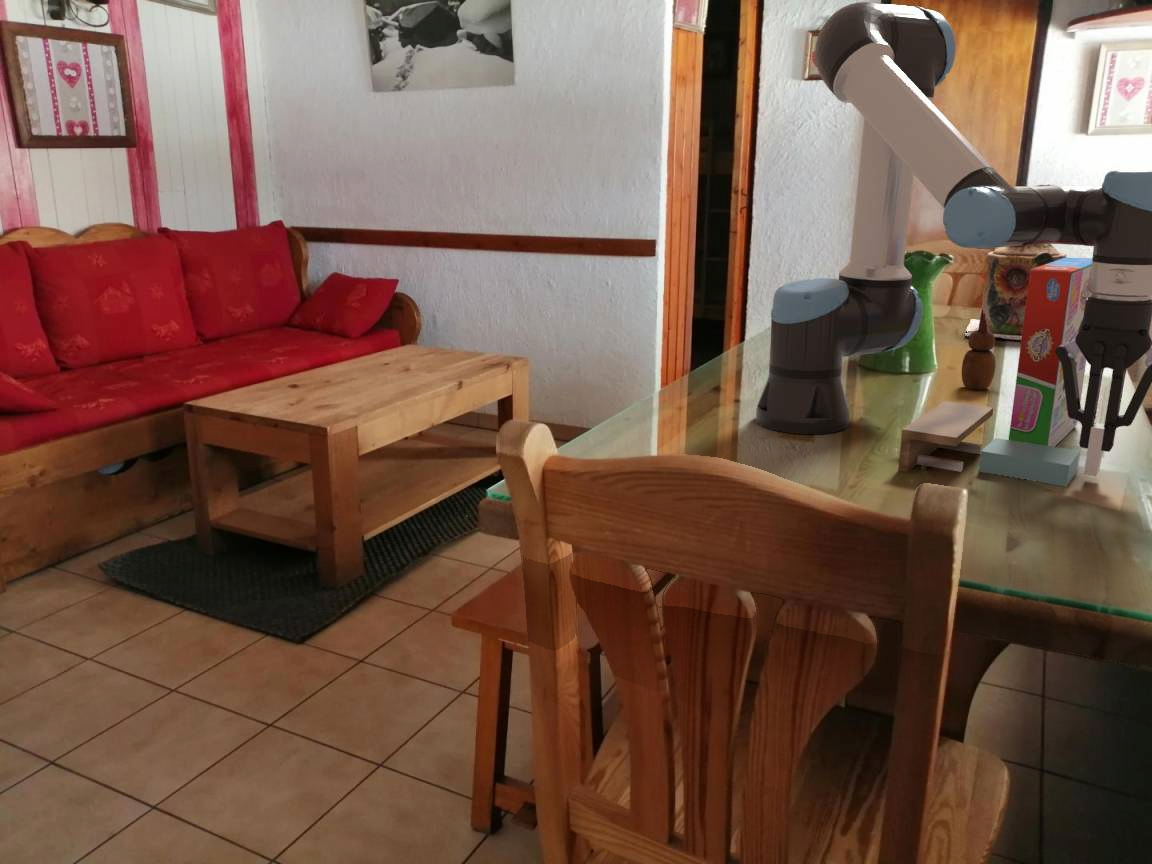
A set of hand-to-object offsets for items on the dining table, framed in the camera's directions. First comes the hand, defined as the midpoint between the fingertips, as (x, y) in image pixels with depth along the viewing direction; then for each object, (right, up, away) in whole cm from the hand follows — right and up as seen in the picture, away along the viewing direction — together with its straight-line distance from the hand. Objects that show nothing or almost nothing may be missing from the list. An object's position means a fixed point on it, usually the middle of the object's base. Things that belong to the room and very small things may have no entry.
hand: (1091, 472), depth 121 cm
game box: (+4, +4, +20) cm, 21 cm away
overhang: (-15, +2, +11) cm, 19 cm away
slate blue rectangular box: (-6, 0, +5) cm, 8 cm away
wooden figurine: (+8, +14, +53) cm, 56 cm away
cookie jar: (+44, +30, +111) cm, 123 cm away
